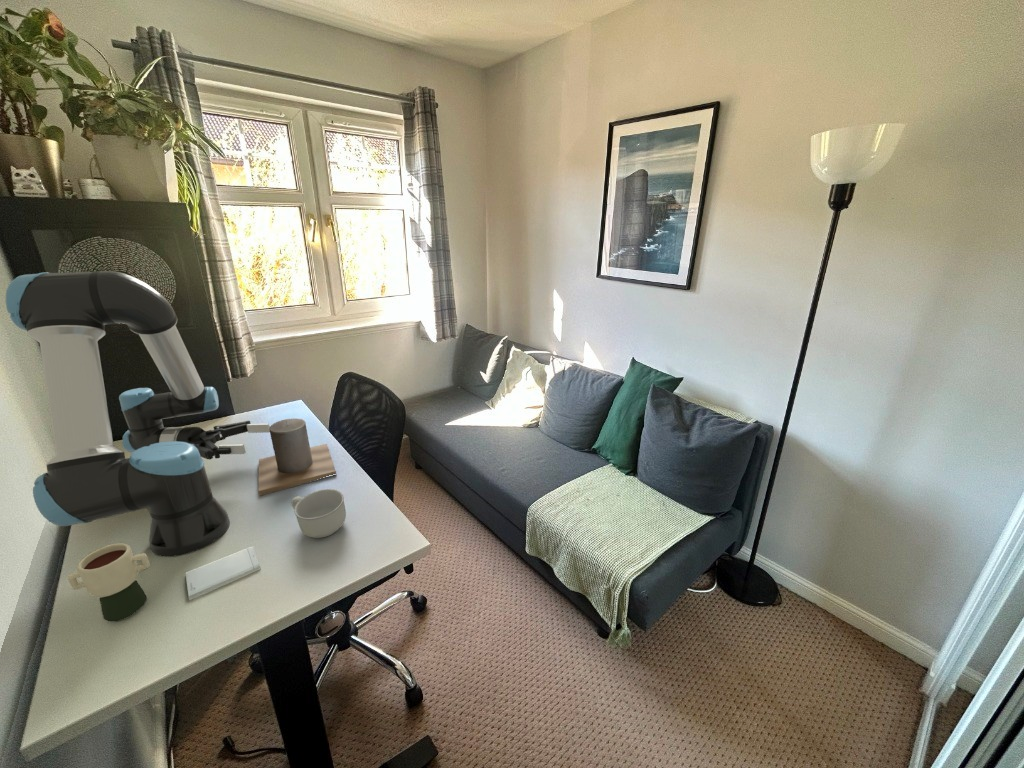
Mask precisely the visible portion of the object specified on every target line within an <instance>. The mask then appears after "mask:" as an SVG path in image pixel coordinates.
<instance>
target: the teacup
mask: <svg viewBox="0 0 1024 768" xmlns="http://www.w3.org/2000/svg"><path fill="white" fill-rule="evenodd" d="M344 499H345V497H344V494H343V493H342V491H340V490H337V489H332V488H325V489H324V488H323V489H320V490H316V491H313V492H310V493H309V494H307V495H305V496H304V497H302V496H299V495H298V496H294V497H293V499H292V500H291V502H290V503H291V507H292V508H293V511H294V514H295V516H296V521H297V524H298V526H299V529H300V531H301V532H302V534H304V535H305V536H307V537H308V538H309V537H310V538H318V539H319V538H320V539H321V538H327V537H329V536H331V535H333V534H335V533H336V532H337V531H339V529H340V528H341V527H342V526H343V525H344V523H345V521H346V518H347V517H346V516H347V512H346V505H345V500H344Z"/></svg>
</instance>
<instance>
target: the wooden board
mask: <svg viewBox="0 0 1024 768" xmlns="http://www.w3.org/2000/svg"><path fill="white" fill-rule="evenodd" d="M310 450H311V456H312V464H311V465H310V466H309V467H308V468H306V469H304V470H302V471H299V472H295V473H282V472H279V470H278V466H277V462H276V458H275V455H272V456H268V457H267V456H266V457H262V458H259V459H258V495H259V496H263V495H267V494H272V493H275V492H278V491H282V490H286V489H290V488H294V487H298V486H300V484H302V485H304V484H303V483H306V484H308V483H307V482H309V483H311V482H310V481H313V482H315V481H314V480H317V479H320V478H323V477H326V476H329V475H333V474H336V475H337V471H336V467H335V465H334V461H333V459H332V458H333V457H332V456H331V452H330V450H329V446H328V443H325V444H321V445H320V444H319V445H316V446H310ZM317 481H318V480H317ZM297 485H298V486H297Z"/></svg>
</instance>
